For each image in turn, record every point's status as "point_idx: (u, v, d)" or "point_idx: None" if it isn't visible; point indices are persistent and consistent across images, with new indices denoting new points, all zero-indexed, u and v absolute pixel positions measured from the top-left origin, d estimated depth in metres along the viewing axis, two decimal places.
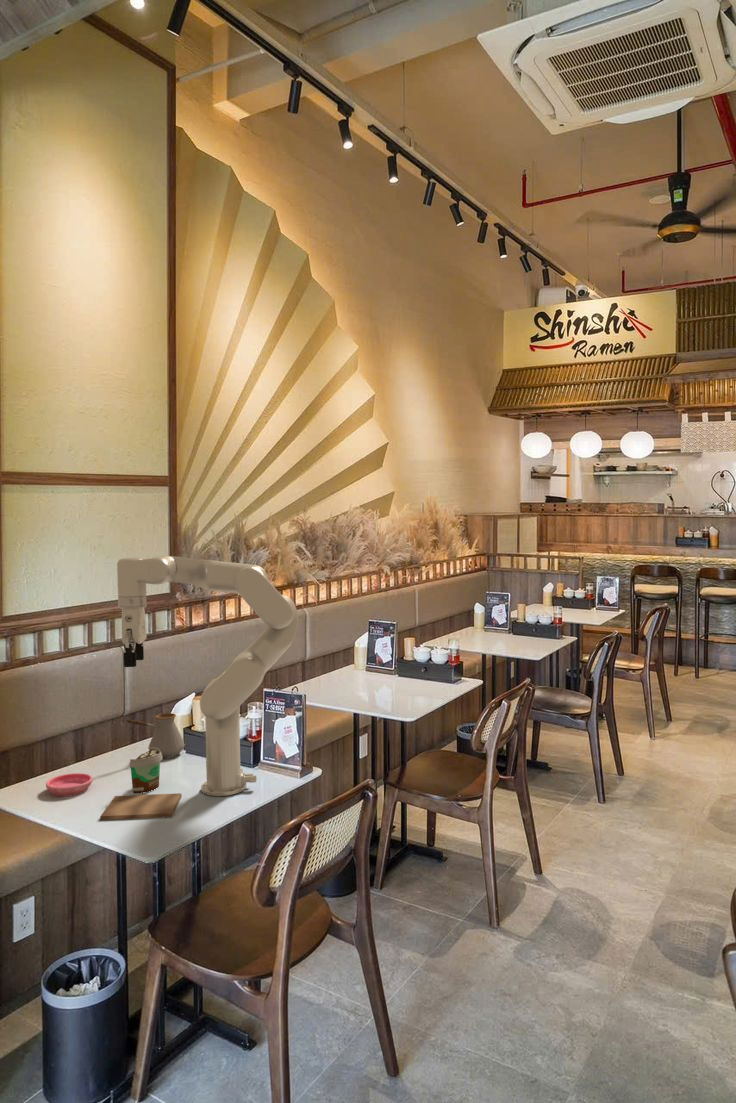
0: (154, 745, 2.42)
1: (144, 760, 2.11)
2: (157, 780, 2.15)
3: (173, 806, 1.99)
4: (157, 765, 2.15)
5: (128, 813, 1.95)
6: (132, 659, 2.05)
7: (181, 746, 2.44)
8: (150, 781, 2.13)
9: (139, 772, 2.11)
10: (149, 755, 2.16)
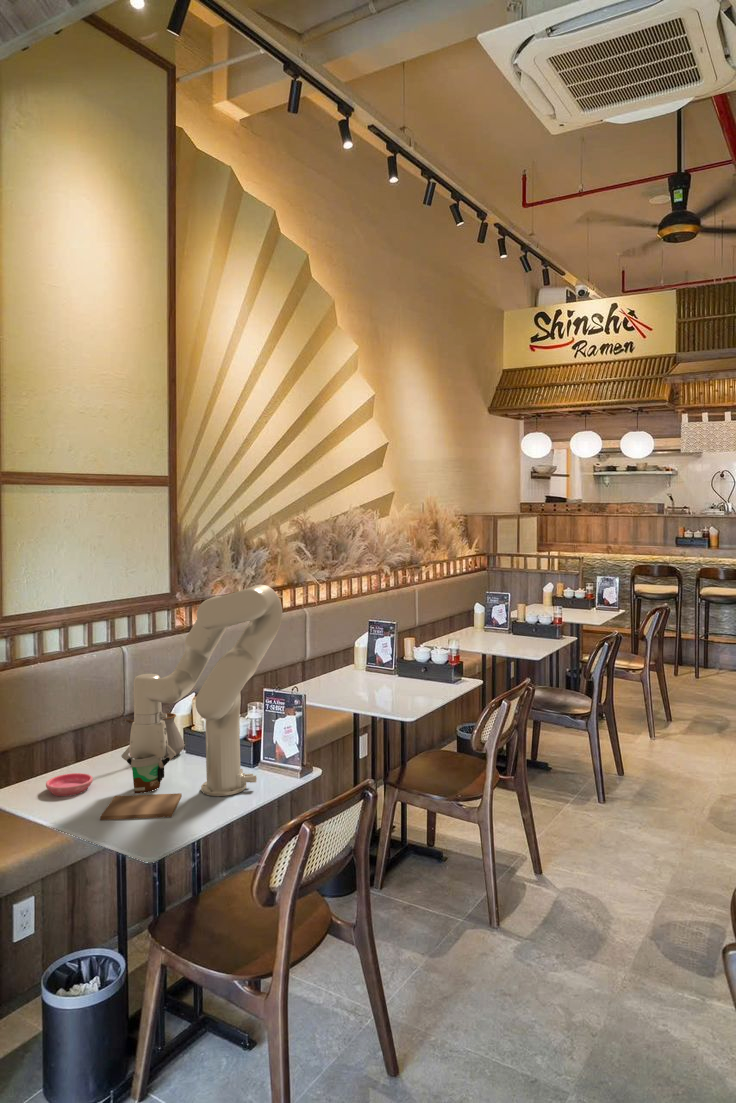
0: None
1: (146, 760, 2.11)
2: None
3: (173, 806, 1.99)
4: (158, 765, 2.15)
5: (128, 813, 1.95)
6: None
7: (181, 746, 2.44)
8: (152, 781, 2.13)
9: (140, 772, 2.11)
10: None
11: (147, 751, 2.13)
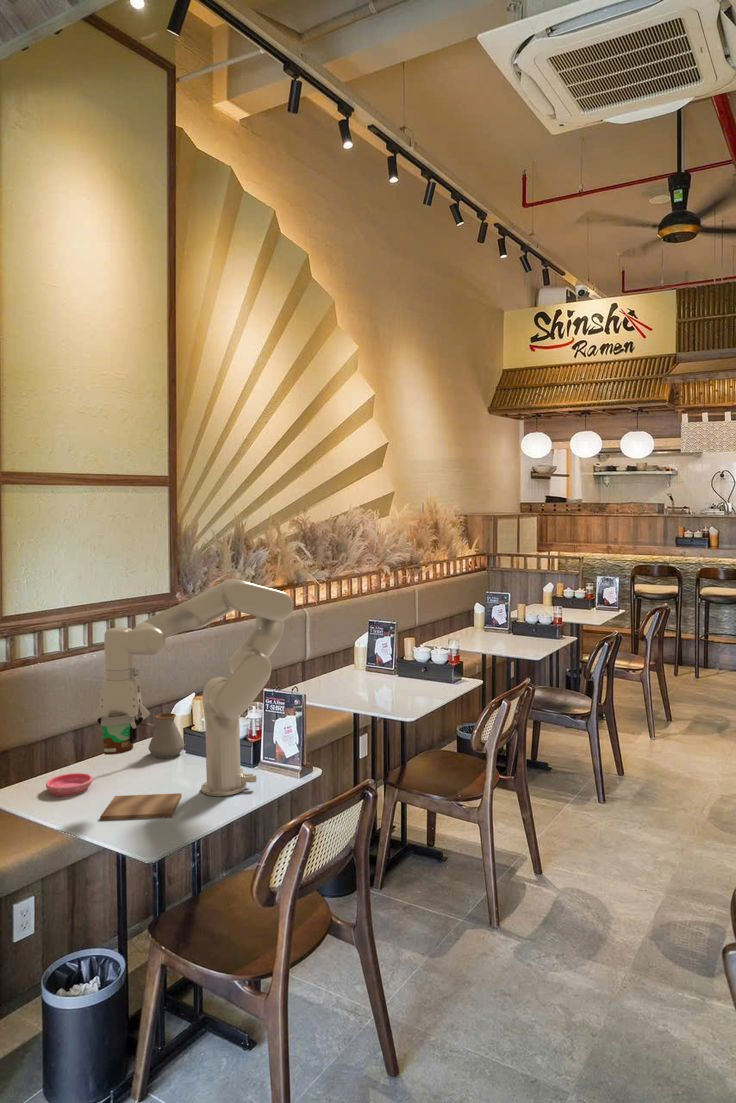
0: (154, 745, 2.42)
1: (116, 719, 1.96)
2: None
3: (173, 806, 1.99)
4: None
5: (128, 813, 1.95)
6: None
7: (181, 746, 2.44)
8: (123, 742, 1.98)
9: (111, 732, 1.96)
10: None
11: (118, 709, 1.98)
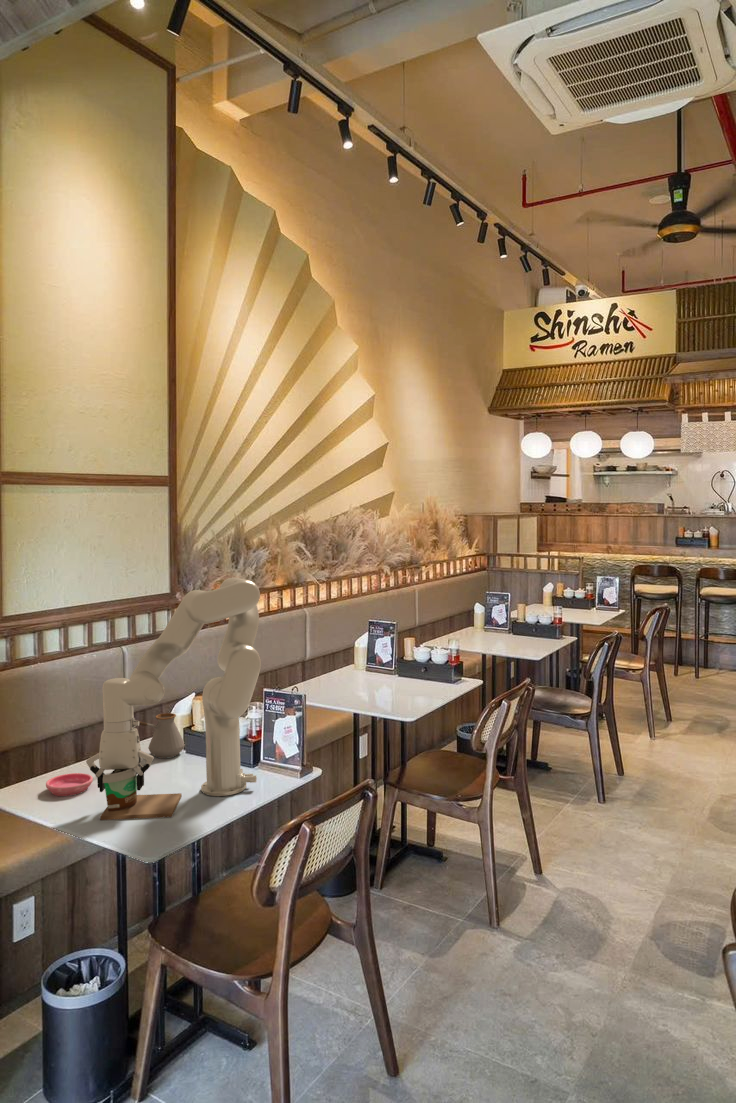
0: (154, 745, 2.42)
1: (118, 774, 1.96)
2: (134, 795, 2.00)
3: (173, 806, 1.99)
4: (133, 779, 2.00)
5: (128, 813, 1.95)
6: None
7: (181, 746, 2.44)
8: (127, 797, 1.98)
9: (114, 788, 1.96)
10: (124, 769, 2.01)
11: (118, 761, 1.98)
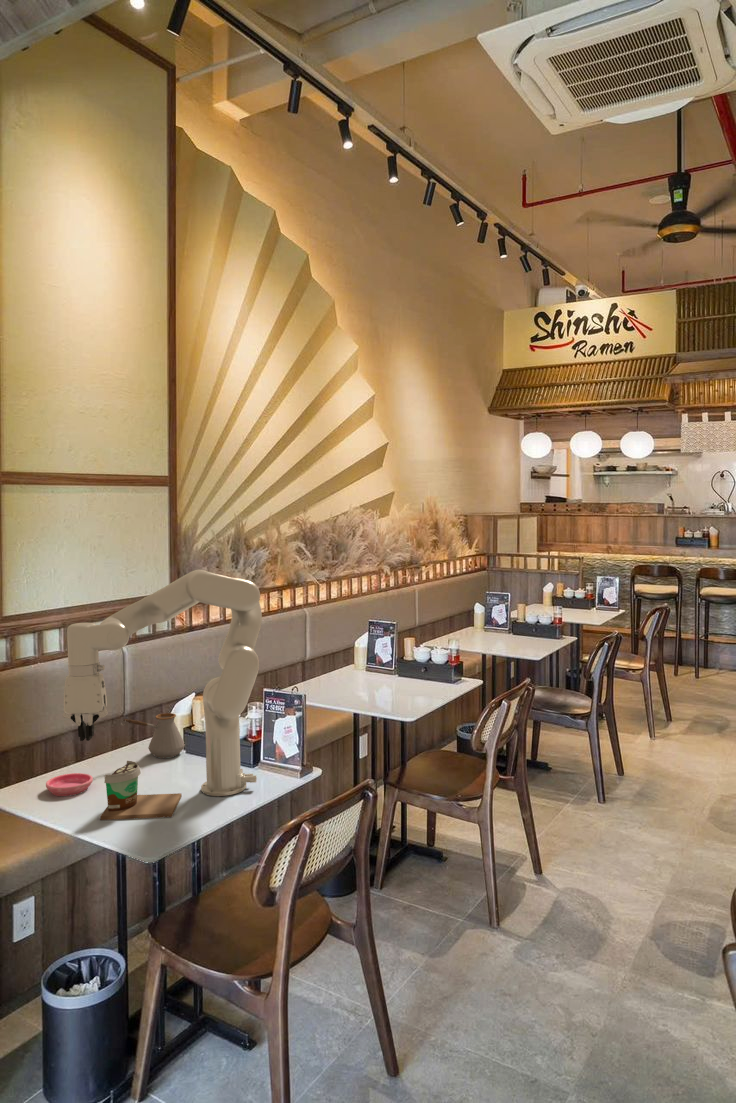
0: (154, 745, 2.42)
1: (120, 775, 1.96)
2: (135, 796, 2.00)
3: (173, 806, 1.99)
4: (135, 780, 2.00)
5: (128, 813, 1.95)
6: None
7: (181, 746, 2.44)
8: (127, 798, 1.98)
9: (115, 788, 1.96)
10: (126, 770, 2.01)
11: (82, 705, 1.96)
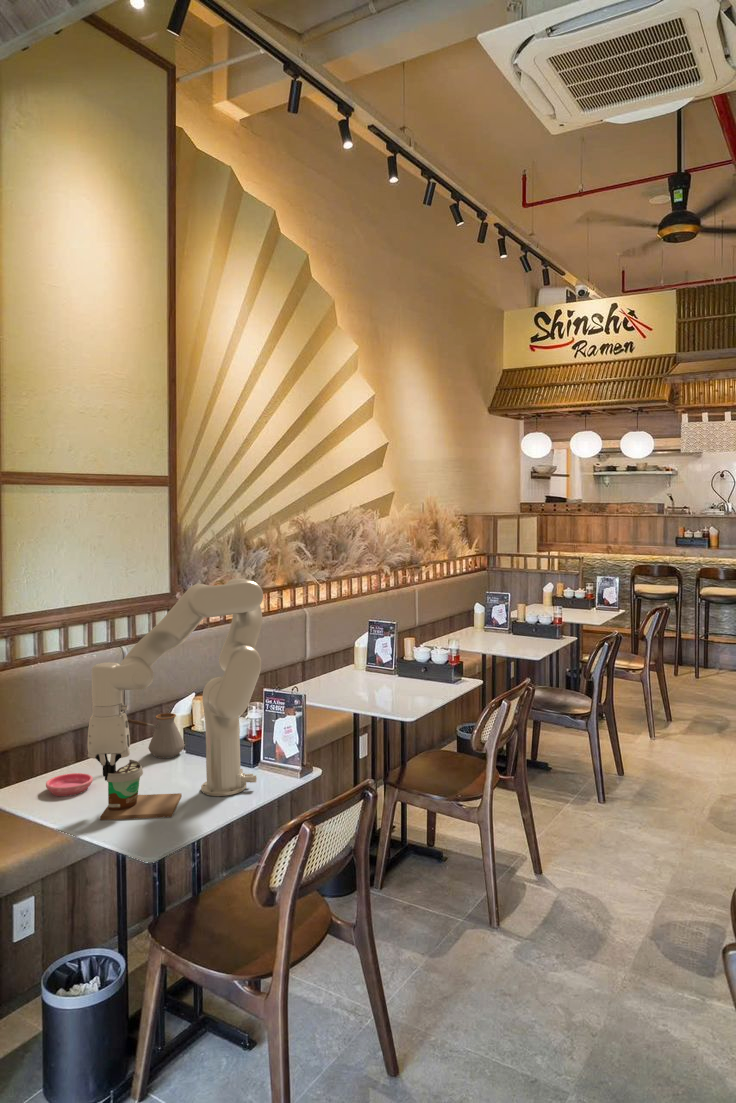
0: (154, 745, 2.42)
1: (123, 775, 1.96)
2: (135, 796, 2.00)
3: (173, 806, 1.99)
4: (137, 781, 1.99)
5: (128, 813, 1.95)
6: None
7: (181, 746, 2.44)
8: (128, 798, 1.98)
9: (117, 787, 1.96)
10: (128, 769, 2.01)
11: (106, 745, 1.97)
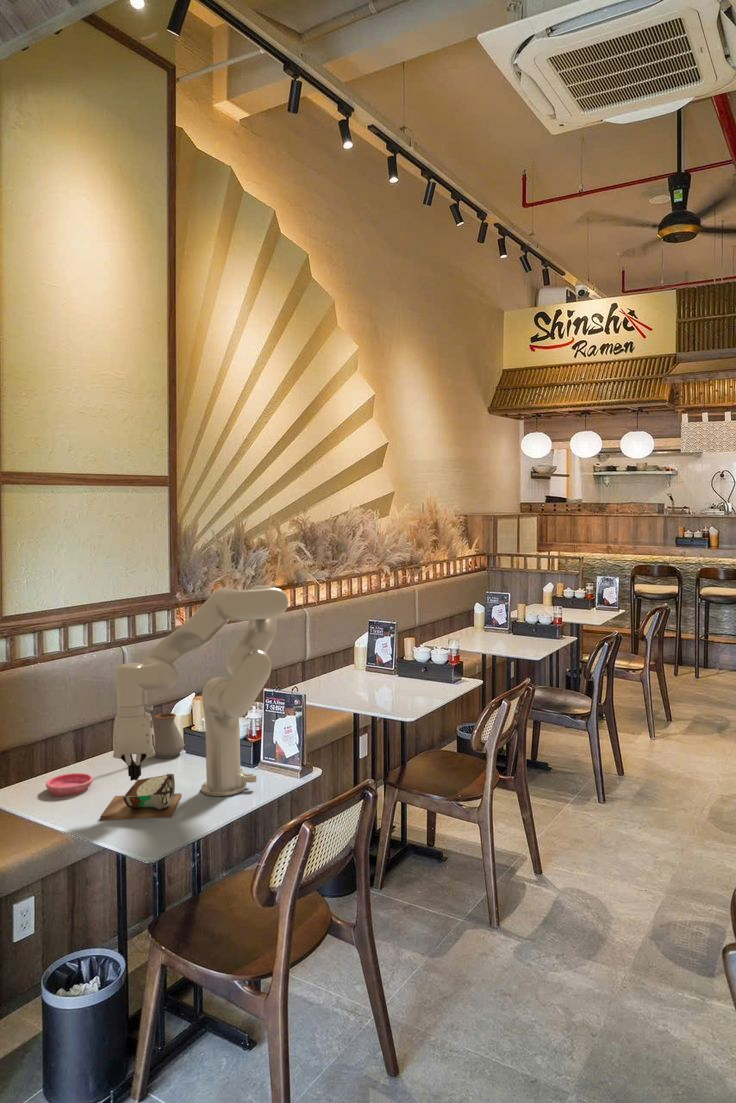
0: None
1: (161, 805, 1.94)
2: None
3: (173, 806, 1.99)
4: None
5: (128, 813, 1.95)
6: None
7: (181, 746, 2.44)
8: (140, 807, 1.97)
9: (147, 802, 1.94)
10: (166, 791, 1.99)
11: (131, 745, 1.98)
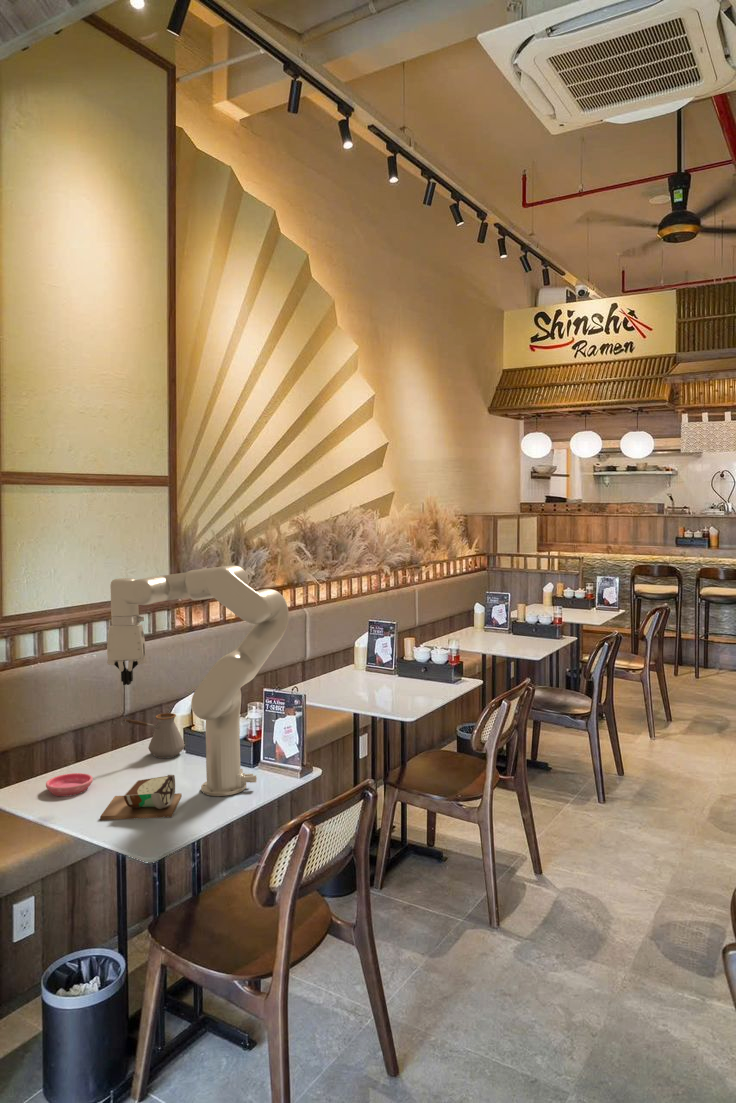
0: (154, 745, 2.42)
1: (161, 804, 1.95)
2: None
3: (173, 806, 1.99)
4: None
5: (128, 813, 1.95)
6: None
7: (181, 746, 2.44)
8: (140, 806, 1.97)
9: (147, 801, 1.94)
10: (166, 792, 1.99)
11: (124, 652, 2.16)
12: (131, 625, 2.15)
